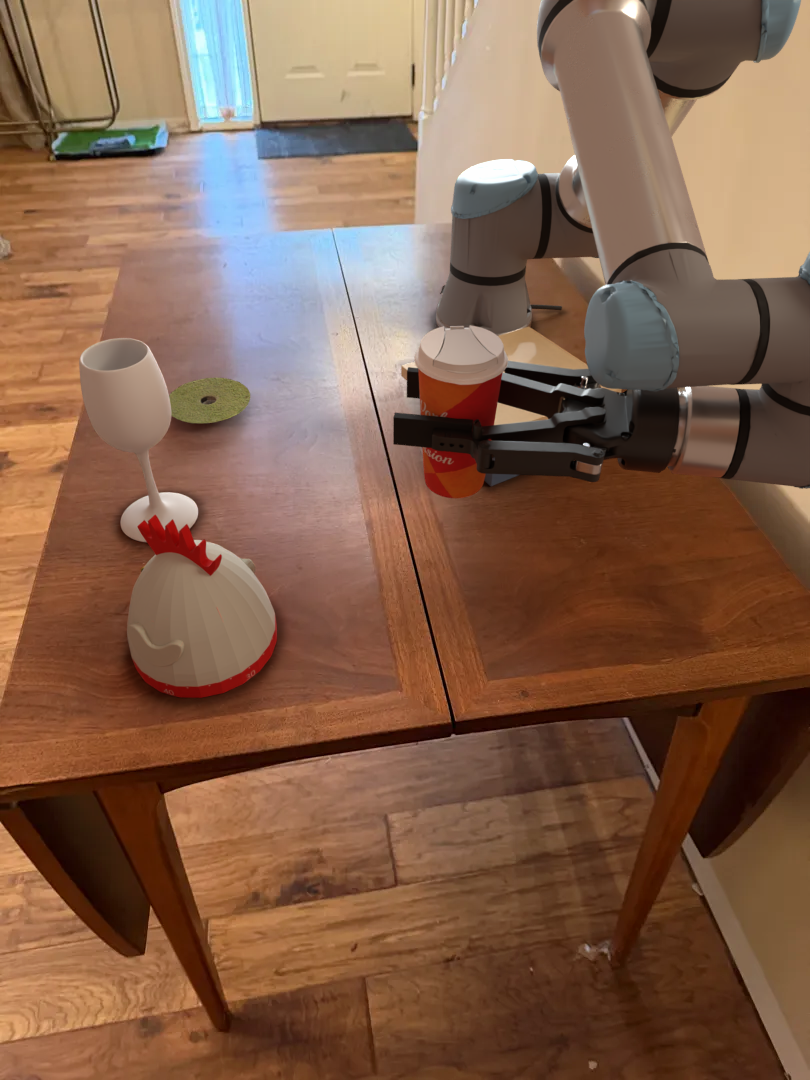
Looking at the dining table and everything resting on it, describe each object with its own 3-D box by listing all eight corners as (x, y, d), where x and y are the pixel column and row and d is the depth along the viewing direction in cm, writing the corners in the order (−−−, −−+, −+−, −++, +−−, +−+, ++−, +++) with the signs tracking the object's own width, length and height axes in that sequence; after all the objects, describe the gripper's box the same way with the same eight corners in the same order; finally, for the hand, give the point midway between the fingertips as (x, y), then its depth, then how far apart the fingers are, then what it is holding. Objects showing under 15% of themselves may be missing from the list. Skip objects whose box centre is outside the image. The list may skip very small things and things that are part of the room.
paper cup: (409, 456, 75) (410, 323, 65) (488, 452, 75) (500, 319, 66) (417, 509, 69) (419, 371, 60) (502, 505, 70) (518, 367, 60)
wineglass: (212, 503, 91) (177, 340, 77) (172, 550, 85) (127, 384, 71) (148, 487, 93) (103, 326, 79) (105, 533, 87) (48, 367, 73)
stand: (521, 387, 110) (528, 326, 104) (607, 452, 99) (622, 387, 93) (400, 429, 103) (401, 365, 96) (480, 504, 91) (486, 437, 85)
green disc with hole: (269, 410, 106) (267, 397, 104) (201, 445, 100) (198, 432, 98) (218, 380, 111) (216, 368, 110) (151, 412, 105) (148, 399, 104)
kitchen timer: (192, 572, 83) (162, 459, 73) (303, 614, 78) (288, 499, 68) (102, 666, 73) (54, 551, 63) (222, 719, 69) (192, 605, 59)
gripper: (672, 540, 61) (382, 509, 63) (652, 403, 75) (416, 383, 77) (697, 463, 56) (380, 433, 58) (671, 332, 70) (417, 312, 72)
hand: (401, 404), depth 68 cm, fingers closed on paper cup, 7 cm apart
